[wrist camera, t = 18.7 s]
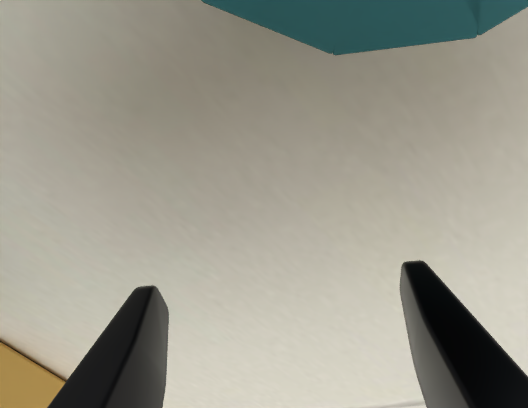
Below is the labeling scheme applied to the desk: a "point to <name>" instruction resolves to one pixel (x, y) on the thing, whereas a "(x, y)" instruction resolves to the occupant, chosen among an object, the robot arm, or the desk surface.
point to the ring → (373, 20)
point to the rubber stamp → (25, 382)
